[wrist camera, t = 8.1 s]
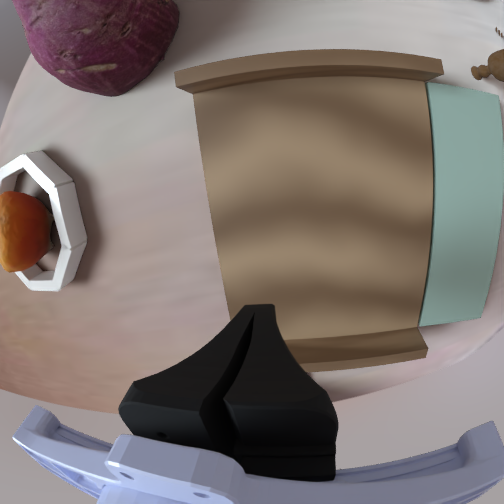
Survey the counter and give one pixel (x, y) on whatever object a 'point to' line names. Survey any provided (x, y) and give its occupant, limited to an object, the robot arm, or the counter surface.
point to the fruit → (23, 231)
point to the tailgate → (463, 202)
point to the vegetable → (99, 40)
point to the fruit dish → (64, 214)
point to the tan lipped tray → (322, 195)
